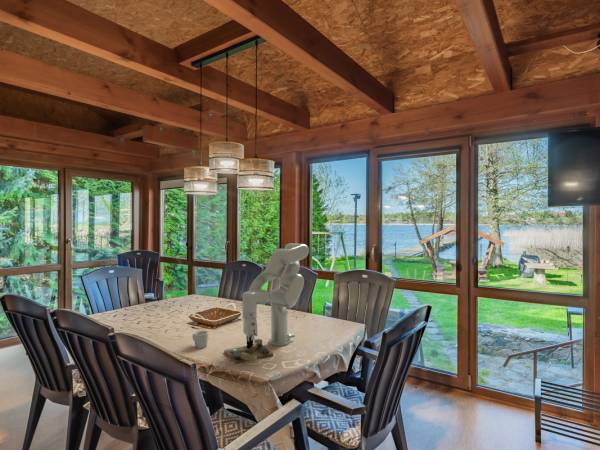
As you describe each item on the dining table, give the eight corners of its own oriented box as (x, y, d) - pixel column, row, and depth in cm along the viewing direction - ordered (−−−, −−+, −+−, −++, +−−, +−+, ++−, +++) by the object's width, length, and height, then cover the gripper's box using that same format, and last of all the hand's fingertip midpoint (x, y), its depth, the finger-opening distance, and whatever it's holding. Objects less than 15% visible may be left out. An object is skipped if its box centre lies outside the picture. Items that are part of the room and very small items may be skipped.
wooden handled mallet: (231, 358, 179) (231, 352, 179) (237, 355, 183) (237, 349, 183) (253, 363, 173) (253, 357, 173) (258, 360, 176) (258, 354, 176)
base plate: (259, 345, 202) (259, 339, 202) (273, 355, 187) (273, 349, 186) (224, 352, 191) (224, 346, 191) (235, 364, 176) (235, 357, 176)
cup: (187, 346, 201) (187, 332, 201) (198, 342, 208) (198, 328, 207) (200, 350, 195) (200, 336, 195) (211, 346, 202) (211, 332, 201)
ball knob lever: (255, 344, 199) (255, 338, 199) (263, 344, 198) (263, 339, 198) (247, 352, 186) (247, 347, 186) (255, 353, 185) (255, 347, 185)
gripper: (261, 317, 186) (261, 351, 187) (251, 310, 199) (251, 342, 200) (248, 319, 183) (248, 354, 183) (238, 312, 196) (238, 345, 196)
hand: (250, 348), depth 192 cm, fingers closed
